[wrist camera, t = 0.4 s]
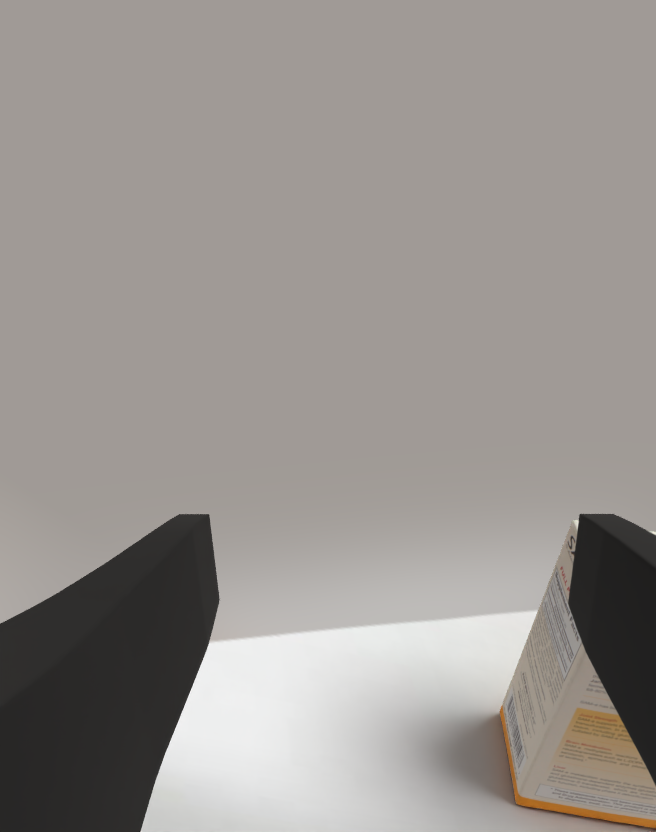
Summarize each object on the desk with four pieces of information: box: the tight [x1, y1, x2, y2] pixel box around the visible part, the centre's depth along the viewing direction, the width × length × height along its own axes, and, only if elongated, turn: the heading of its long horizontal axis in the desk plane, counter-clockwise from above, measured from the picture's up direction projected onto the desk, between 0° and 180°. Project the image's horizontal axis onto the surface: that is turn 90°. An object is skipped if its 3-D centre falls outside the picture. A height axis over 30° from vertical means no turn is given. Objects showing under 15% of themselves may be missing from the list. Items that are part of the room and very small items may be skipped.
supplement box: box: [500, 520, 656, 828], centre depth 24 cm, size 8×5×13 cm, turn 83°
